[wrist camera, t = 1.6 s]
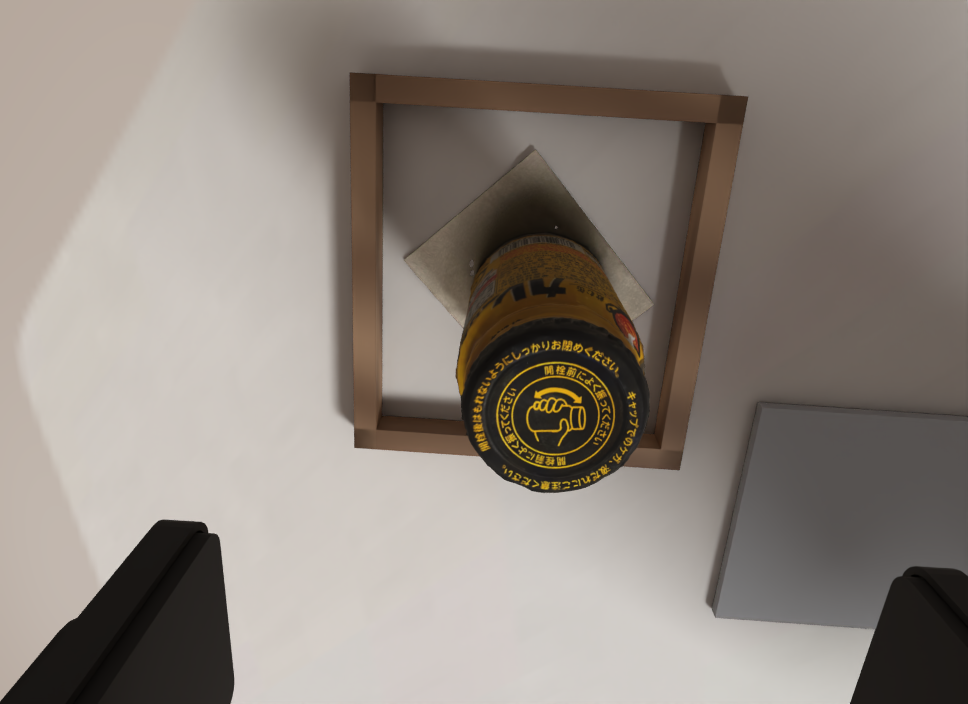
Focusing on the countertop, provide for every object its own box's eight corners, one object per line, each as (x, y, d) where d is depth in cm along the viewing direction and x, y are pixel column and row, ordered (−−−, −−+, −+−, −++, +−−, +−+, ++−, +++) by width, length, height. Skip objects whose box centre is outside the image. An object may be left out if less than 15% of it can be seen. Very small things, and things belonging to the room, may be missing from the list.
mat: (941, 626, 34) (948, 634, 34) (711, 609, 34) (715, 617, 34) (1019, 419, 30) (1029, 425, 30) (757, 402, 30) (762, 407, 30)
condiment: (524, 397, 31) (532, 561, 20) (404, 259, 29) (336, 353, 17) (653, 303, 29) (744, 424, 18) (535, 148, 27) (553, 174, 16)
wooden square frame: (671, 454, 31) (679, 470, 30) (361, 432, 32) (354, 447, 30) (735, 97, 26) (748, 96, 24) (358, 74, 26) (349, 72, 25)
